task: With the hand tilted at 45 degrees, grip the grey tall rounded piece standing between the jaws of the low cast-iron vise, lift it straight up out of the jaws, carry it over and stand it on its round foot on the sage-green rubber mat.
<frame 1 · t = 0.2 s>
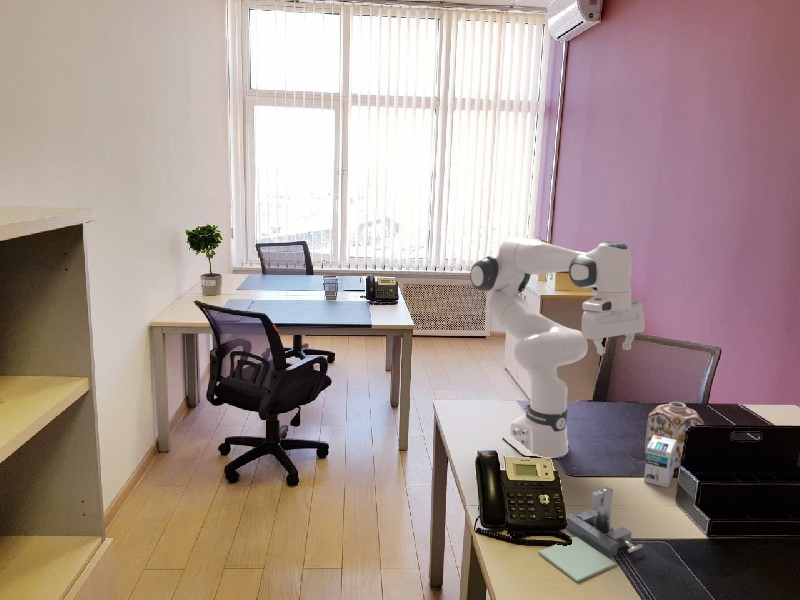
hand: (614, 351, 170), 39 cm above the table, tool pointing down, fingers open, 8 cm apart
decorative jar: (671, 459, 192), on the table
vise: (602, 534, 152), on the table
grey tall rounded piece: (602, 513, 150), in the vise
mat: (576, 559, 142), on the table
light bulb box: (658, 478, 180), on the table
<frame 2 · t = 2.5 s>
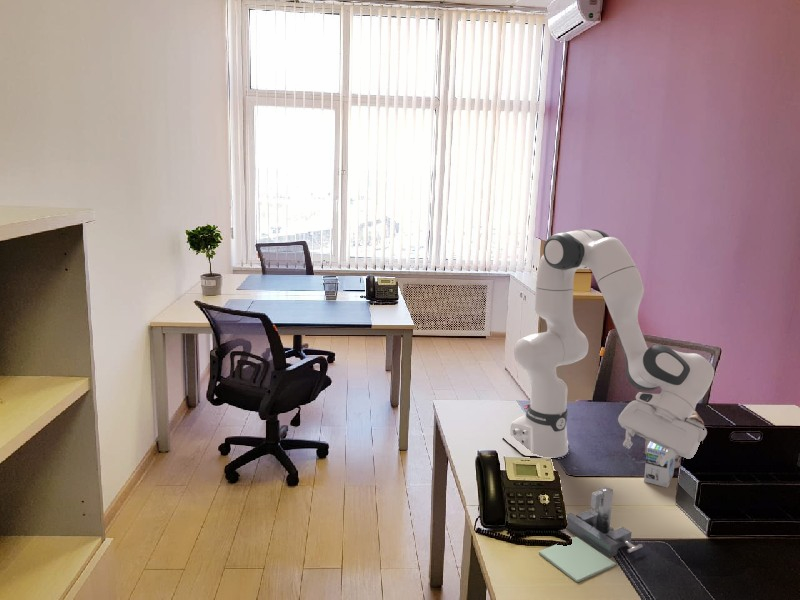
hand: (641, 455, 154), 18 cm above the table, tool tilted 45°, fingers open, 8 cm apart
nothing on the table moved.
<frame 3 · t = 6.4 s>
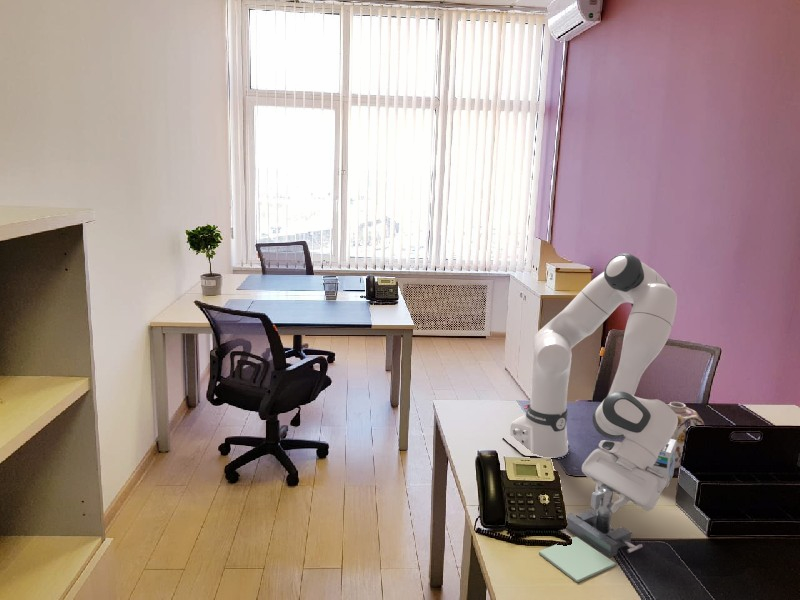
hand: (602, 506, 150), 8 cm above the table, tool tilted 45°, fingers closed on grey tall rounded piece, 3 cm apart
grey tall rounded piece: (602, 513, 150), in the vise, touching gripper
everything else where it was.
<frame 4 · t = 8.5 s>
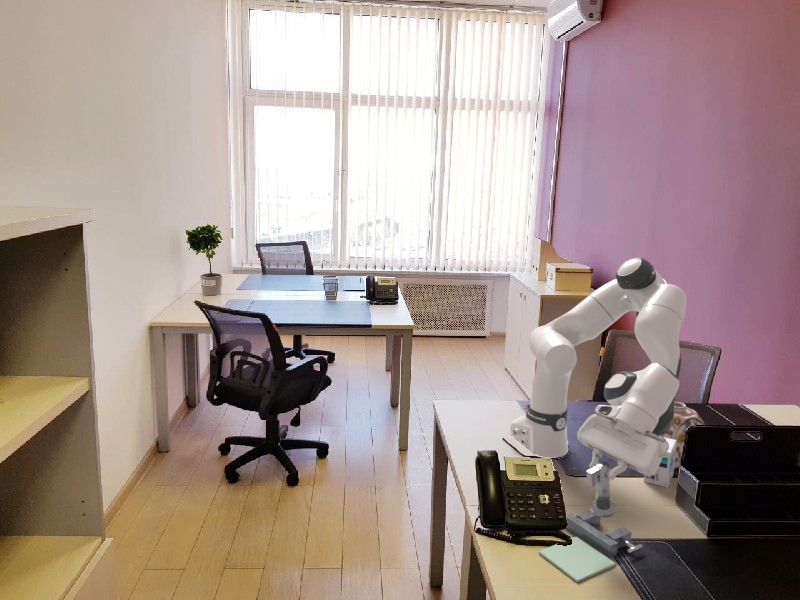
hand: (600, 473, 140), 20 cm above the table, tool tilted 45°, fingers closed on grey tall rounded piece, 3 cm apart
grey tall rounded piece: (600, 488, 142), point 16 cm above the table, tilted 10°, touching gripper
everything else where it was.
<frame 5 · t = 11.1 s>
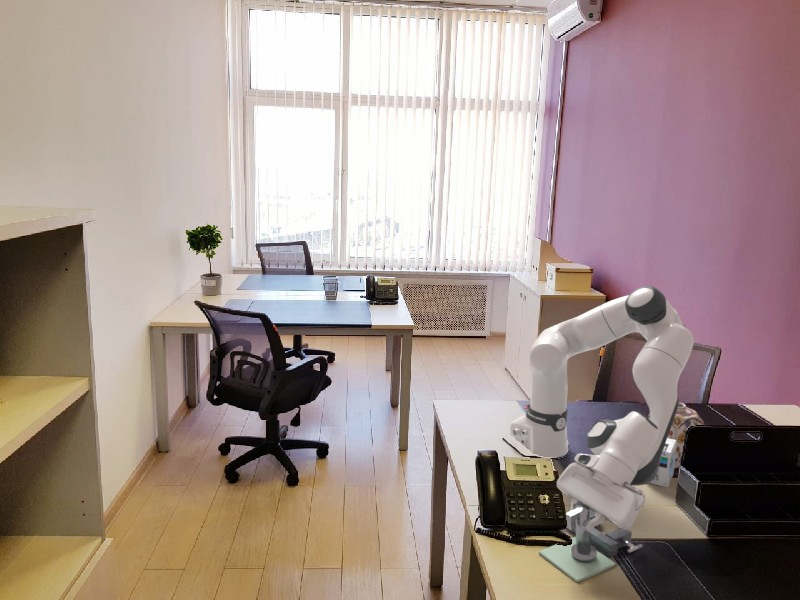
hand: (577, 524, 140), 9 cm above the table, tool tilted 45°, fingers closed on grey tall rounded piece, 3 cm apart
grey tall rounded piece: (580, 532, 141), on the mat, tilted 7°, touching gripper
everything else where it was.
when the fingers open (9 cm above the table, at t = 12.1 s): grey tall rounded piece stays where it is, resting on mat.
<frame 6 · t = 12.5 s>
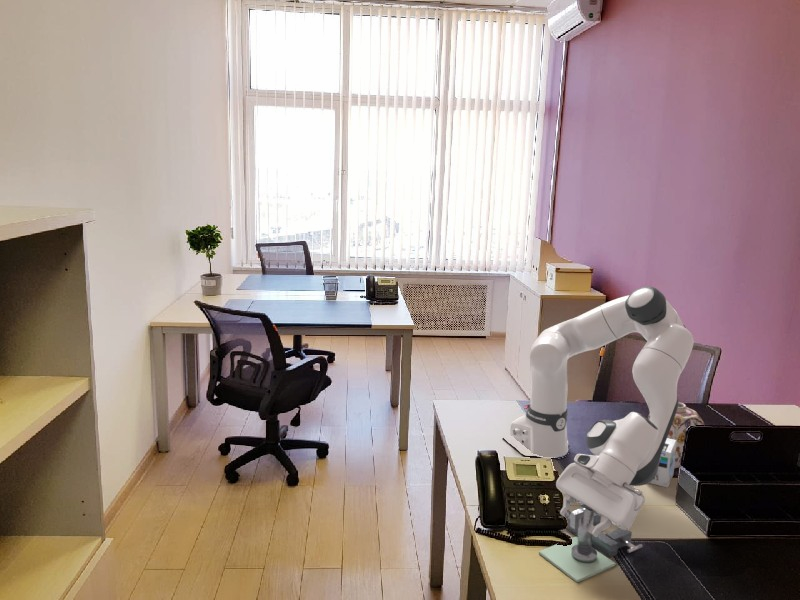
hand: (577, 524, 140), 9 cm above the table, tool tilted 45°, fingers open, 7 cm apart
grey tall rounded piece: (583, 533, 141), on the mat, point 7 cm above the table
everything else where it was.
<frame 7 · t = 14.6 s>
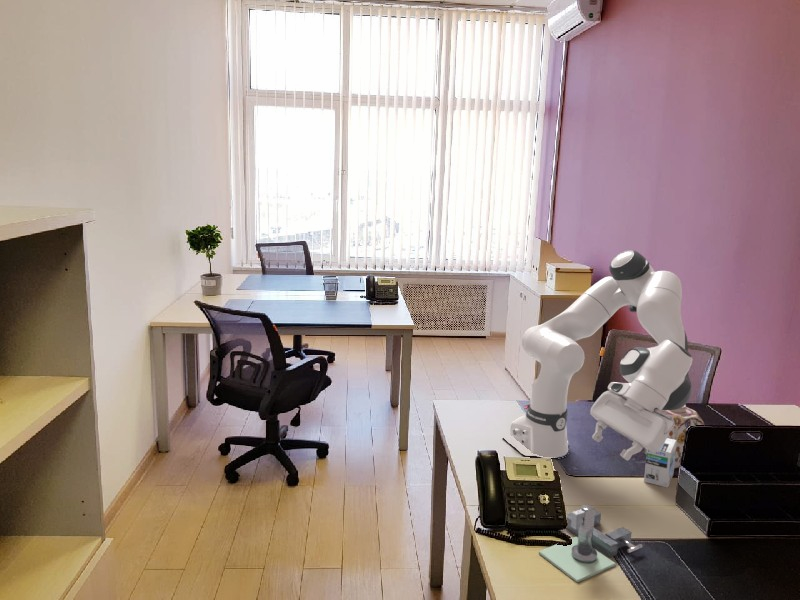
hand: (609, 448, 145), 24 cm above the table, tool tilted 40°, fingers open, 8 cm apart
nothing on the table moved.
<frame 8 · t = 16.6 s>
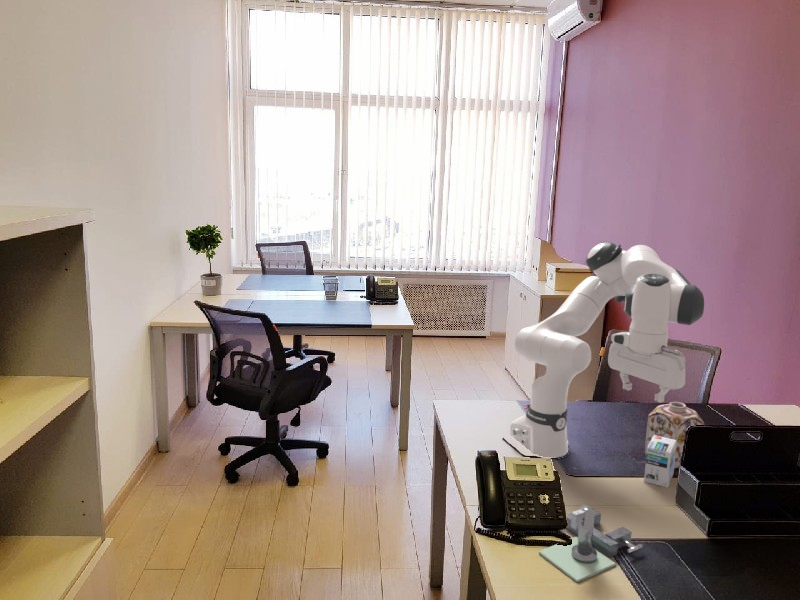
hand: (642, 395, 153), 33 cm above the table, tool pointing down, fingers open, 8 cm apart
nothing on the table moved.
at the end: grey tall rounded piece inside the target area on the mat (1.8 cm from its centre), point 6.6 cm above the mat's base; grey tall rounded piece tilted 0°; grey tall rounded piece touching mat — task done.
